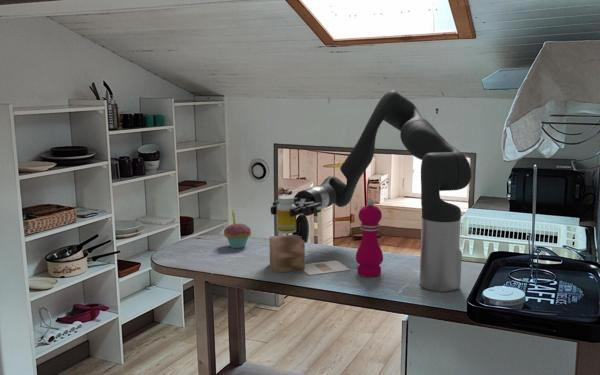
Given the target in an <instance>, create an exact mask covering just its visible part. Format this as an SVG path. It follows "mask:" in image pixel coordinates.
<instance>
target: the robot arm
mask: <svg viewBox="0 0 600 375" xmlns="http://www.w3.org/2000/svg"><path fill="white" fill-rule="evenodd" d="M383 121H384V122H386V123H387V124H389V125H390V126H392V127H393V128H395V129H396V130H398V131H399V132H400V134H399V136H400V140H401V142H402V145H403V146H404V147H405V148H406V150H407V152H409V153H410V154H411V155H412V156H413V157H415V158H416V159H419V160H421V164H420V188H421V189H420V194H421V196H420V203H421V204H420V205H421V228H420V230H421V231H420V234H421V236H420V259H419V260H420V261H419V262H420V263H419V264H420V265H419V285H420V287H422V288H423V289H425V290H428V291H433V292H445V293H446V292H452V291H455V290H461V282H462V279H461V278H462V256H463V252H462V250H461V249H460V246H461V245H460V242H461V240H460V239H461V218H462V211H461V207H459V206H458V205H456V204H453V203H449V202H448V201H445V200H443V199H442V198H441V194H440V192H445V191H446V192H447V191H450V192H452V191H460V190H464V189H465V188H467V186H468V185H470V184H469V183H471V180H472V168H471V164H470V162H469V160H468V159H467V157H466V155H465V154H464V153H463V152H461V151H460V150H459V149H457V148H456V147H454V145H452V144H450V143H449V142H448V141H447V140H446V139H445V138H444V137H443V136H442V135H441V134H440V133H439V132H438V131H437V130H436V128H435V127H434V126H433V125H432V124H431V123H430V122H429V121H428V120H427V119H425V118H424V117H422V115H421V114H420V111H419V109H418V108H417V107H416V105H415V104H414V103H413V102H412V101H411V100H409V99H408V98H406V97H405V96H404V95H402V94H401V93H399V92H398V91H396V90H389V91H387V92H386V93H384V94H383V96H382V97H381V98H380V100H379V101H378V102H377V104H376V106H375V108H374V109H373V112H372V114H371V115H370V117H369V119H368V121H367V122H366V125H365V126H364V129H363V131H362V133H361V135H360V136H359V139H358V140H357V142H356V143H355V145H354V147H353V149H351V151H350V152H349V154H348V156H347V157H346V158H345V160H344V161H343V163H342V164H341V166H340V167H339V168H340V171H341V173H342V174H343V176H344V177H345V179H346V183H345V182H343V181H342V180H341V179H339V178H338V177H337V176H334V175H331V176H328V177H326V178H325V179H324V180H323V182H322V183H321V184H320V185H317V186H311V187H309V188H306V189H302V190H300V191H298V192H296V193H295V195H294V196H293V197H294V202H293V204H294V205H295V206H296V207H294V208H291V209H290V217H294V216H296V217H297V216H304V217H308V216H312V215H314V214H317V213H321V212H322V210H324V209H325V208H329V207H330V206H333V205H335V206H337V207H339V208H343V207H346V206H347V205H348V204H349V203H350V202H351V201H352V198H353V195H354V192H355V190H356V188H357V185H358V183H359V180H360V178H361V177H362V176H363V175H364V174H365V171H366V170H367V169H368V167H369V166H370V165H371V163H372V160H373V158H374V154H375V148H376V147H375V146H376V139H377V134H378V131H379V128H380V126H381V125H382V122H383ZM279 204H280V203H279V198H278V199H276V200H274V201H273V202H272V206H270V213H271V215H277V206H278V205H279Z"/></svg>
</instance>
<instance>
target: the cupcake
mask: <svg viewBox="0 0 600 375" xmlns="http://www.w3.org/2000/svg"><path fill="white" fill-rule="evenodd" d="M231 215H232V216H231V217H232V224H230V225H228V226H226V227H225V228H224V230H223V236H224V237H225V238H226V239H227V240H228V241H227V242H228V244H229V246H230V248H233V249H241V248H245V247H246V244H247V243H248V242H247V241H248V239H249V237H251V235H252V231H251V228H250V226H247V225H246V224H243V223H236V217H235V216H236V215H235V212H234V210H233V209H232V212H231ZM244 246H245V247H244Z"/></svg>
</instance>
